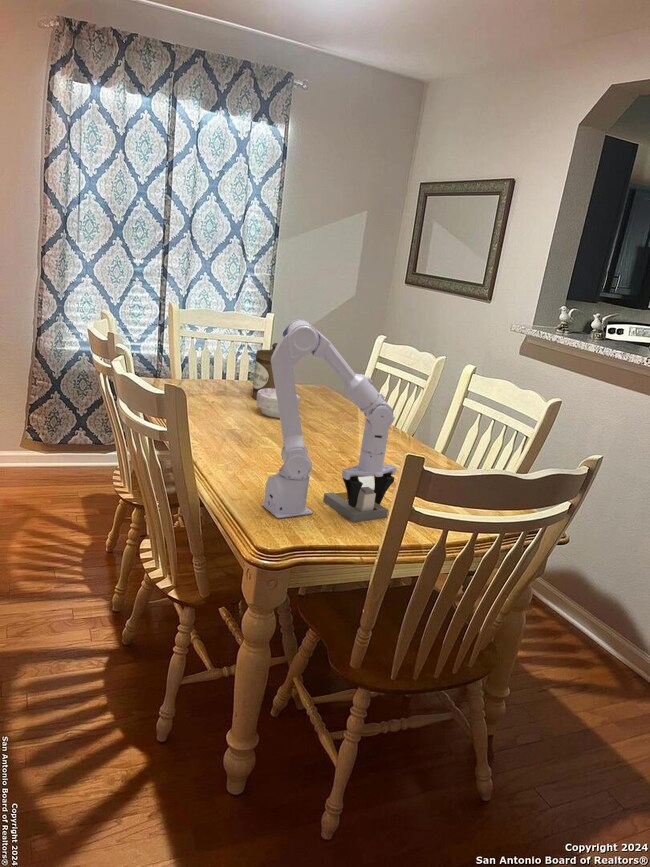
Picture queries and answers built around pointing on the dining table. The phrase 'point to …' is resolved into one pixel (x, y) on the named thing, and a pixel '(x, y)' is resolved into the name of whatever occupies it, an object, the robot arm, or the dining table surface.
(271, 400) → the paper bowls
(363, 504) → the plug
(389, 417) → the robot arm
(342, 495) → the socket panel
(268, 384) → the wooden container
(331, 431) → the dining table surface
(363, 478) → the hard drive
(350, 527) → the dining table surface
